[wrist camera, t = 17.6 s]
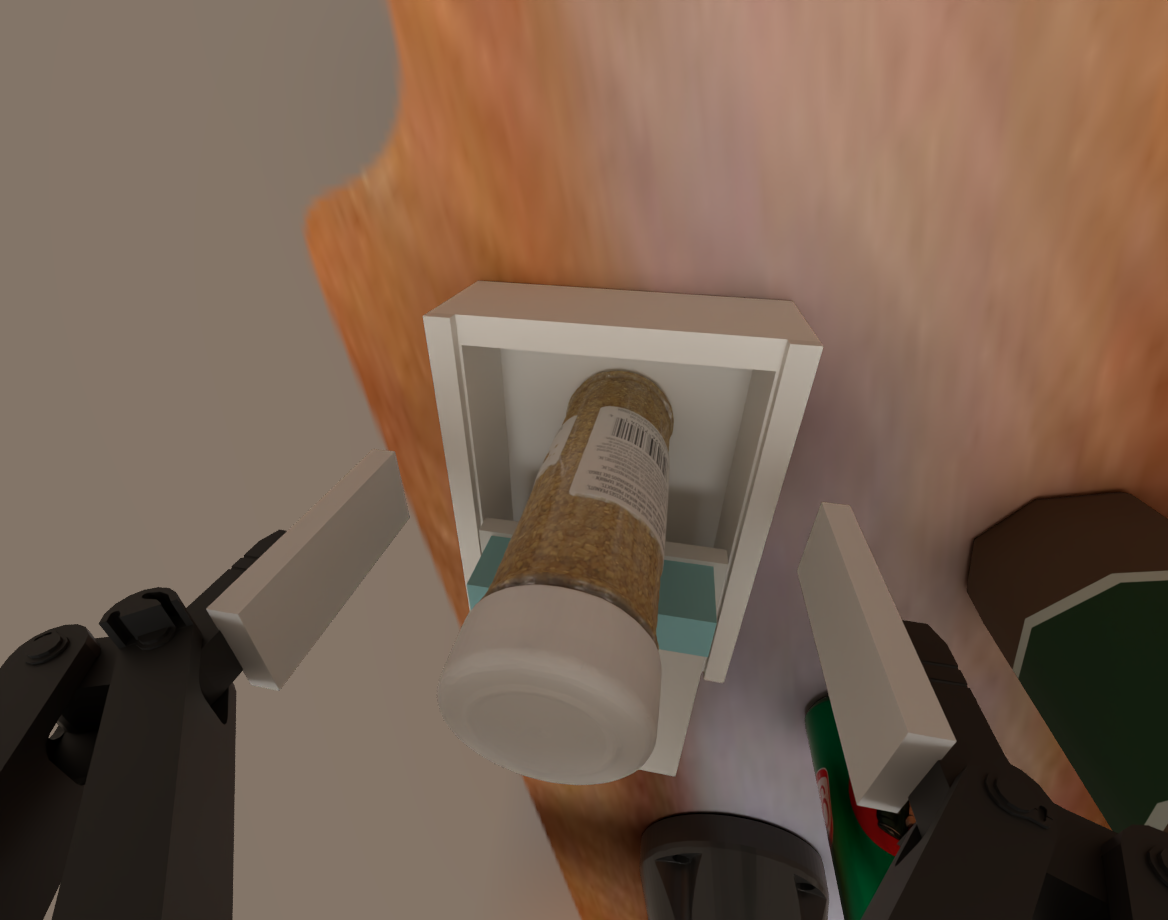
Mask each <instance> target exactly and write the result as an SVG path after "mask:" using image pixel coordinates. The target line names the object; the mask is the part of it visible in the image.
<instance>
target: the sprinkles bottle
mask: <svg viewBox="0 0 1168 920" xmlns="http://www.w3.org/2000/svg"><path fill="white" fill-rule="evenodd" d="M673 426H674V418H673V411H672V408H671V405H670V403H669V401H668V400H667V398H666V396H665V394H664V393H663V392H662V391H661V390H660V389H659V387H658V386H657V385H655V384H654V383H653V382H651V381H650V380H648V379H646V378H645V377H643V376H641V375H639V374H635V373H631V372H626V371H609V372H602V373H598V374H596V375H594V376H592V377H591V378H589V379H587V380H586V381H585V382H584V383H582V385H581V386H580V387H579V388H578V389H577V390H576V391H575V392H574V394H573V395H572V396H571V398H570V401H569V403H568V407H567V412H566V418H565V419H564V422H563V424H562V426H561V427H560V429H559V430H558V432H557V433H556V435H555V437H554V439H553V442H552V444H551V446H550V448H549V450H548V453H547V455H546V457H545V459H544V462H543V464H542V466H541V468H540V470H539V472H538V475H537V477H536V479H535V482H534V486H533V490H532V493H531V495H530V497H529V499H528V501H527V504H526V506H525V509H524V511H523V514H522V516H521V518H520V520H519V523H518V525H517V528H516V529H515V531H514V533H513V535H512V538H511V540H510V541H509V544H508V547H507V549H506V551H505V553H504V557H503V559H502V561H501V563H500V565H499V567H498V569H497V572H496V574H495V577H494V580H493V582H492V584H491V585H490V587H489V589H488V591H487V592H486V594H485V595H484V596H483V597H482V599H481V600H480V601H479V602H478V603H477V604H476V605H475V606H474V607H473V609H472V610H471V611H470V612H469V614H468V615H467V617H466V619H465V621H464V623H463V625H462V627H461V630H460V632H459V634H458V636H457V638H456V641H455V643H454V645H453V647H452V649H451V652H450V654H449V657H448V659H447V662H446V664H445V666H444V668H443V671H442V674H441V676H440V679H439V683H438V688H437V701H438V705H439V709H440V712H441V714H442V716H443V719H444V720H445V722H446V723H447V725H448V726H449V727H450V729H451V730H452V731H453V733H454V734H455V735H456V736H457V737H458V738H459V739H460V740H461V741H462V742H463V743H465V744H466V745H467V746H468V747H469V748H471V749H472V750H473V751H475V752H476V753H478V754H479V755H481V756H482V757H484V758H486V759H487V760H489V761H491V762H493V763H495V764H497V765H499V766H501V767H503V768H506V769H508V770H510V771H513V772H516V773H518V774H521V775H524V776H527V777H531V778H535V779H538V780H543V781H547V782H553V783H560V784H571V785H592V784H601V783H608V782H612V781H615V780H618V779H621V778H624V777H626V776H628V775H630V774H632V773H634V772H636V771H637V770H638V769H639V768H641V767H642V766H643V765H644V764H645V763H646V761H647V760H648V759H649V757H650V755H651V754H652V752H653V749H654V747H655V744H656V739H657V731H658V720H659V707H660V693H661V676H662V665H661V659H660V654H659V652H658V650H659V645H658V641H657V636H656V628H657V622H658V603H659V590H660V577H661V575H662V571H663V566H664V553H665V538H666V523H667V507H668V490H669V471H670V459H669V453H668V452H669V440H670V437H671V435H672V433H673Z"/></svg>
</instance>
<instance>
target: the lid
mask: <svg viewBox="0 0 1168 920" xmlns="http://www.w3.org/2000/svg"><path fill="white" fill-rule="evenodd" d="M518 523H519V522H517V521H510V520H503V519H495V518H488V517H486V518H485V520H484V521H483V523H482V525H481V527H480V529H479V535H480V543H481V551H482V555H481V557H480V559H479V561H478V563H477V565H476V567H475V569H474V571H473V573H472V575H471V577H470V579H469V581H468V583H467V590H468V596H469V603H470V609H471V610H472V609H473V607H474V606H475V605H476V604H477V603H478V602H479V601H480V600H481V599H482V597H483V596H484V595H485V594H486V592H487V591H488V589H489V587H490V585H491V584H492V582H493V580H494V577H495V574H496V572H497V569H498V567H499V565H500V563H501V561H502V559H503V557H504V553H505V551H506V549H507V547H508V544H509V541H510V540H511V538H512V535H513V533H514V531H515V529H516V528H517V525H518ZM727 568H728V557H727V550H726V549H718V548H711V547H703V546H696V545H688V544H681V543H674V542H666V541H665V553H664V566H663V571H662V575H661V577H660V590H659V603H658V622H657V628H656V636H657V641H658V645H659V650H658V652H659V654H660V659H661V665H662V676H661V693H660V707H659V720H658V731H657V739H656V744H655V747H654V749H653V752H652V754H651V755H650V757H649V759H648V760H647V761H646V763H645V764H644V765H643V766H642V767H641V768H639V769H640V770H645V771H650V772H655V773H660V774H665V775H670V776H676V772H677V768H678V764H679V760H680V756H681V752H682V748H683V744H684V740H685V736H686V732H687V728H688V724H689V720H690V716H691V712H692V708H693V704H694V700H695V696H696V692H697V688H698V684H699V680H700V676H701V672H702V668H703V664H704V660H705V657H708V656H709V652H710V648H711V644H712V640H713V636H714V633H715V629H716V625H717V617H716V612H717V608H718V604H719V600H720V596H721V592H722V588H723V584H724V580H725V576H726V572H727Z"/></svg>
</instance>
